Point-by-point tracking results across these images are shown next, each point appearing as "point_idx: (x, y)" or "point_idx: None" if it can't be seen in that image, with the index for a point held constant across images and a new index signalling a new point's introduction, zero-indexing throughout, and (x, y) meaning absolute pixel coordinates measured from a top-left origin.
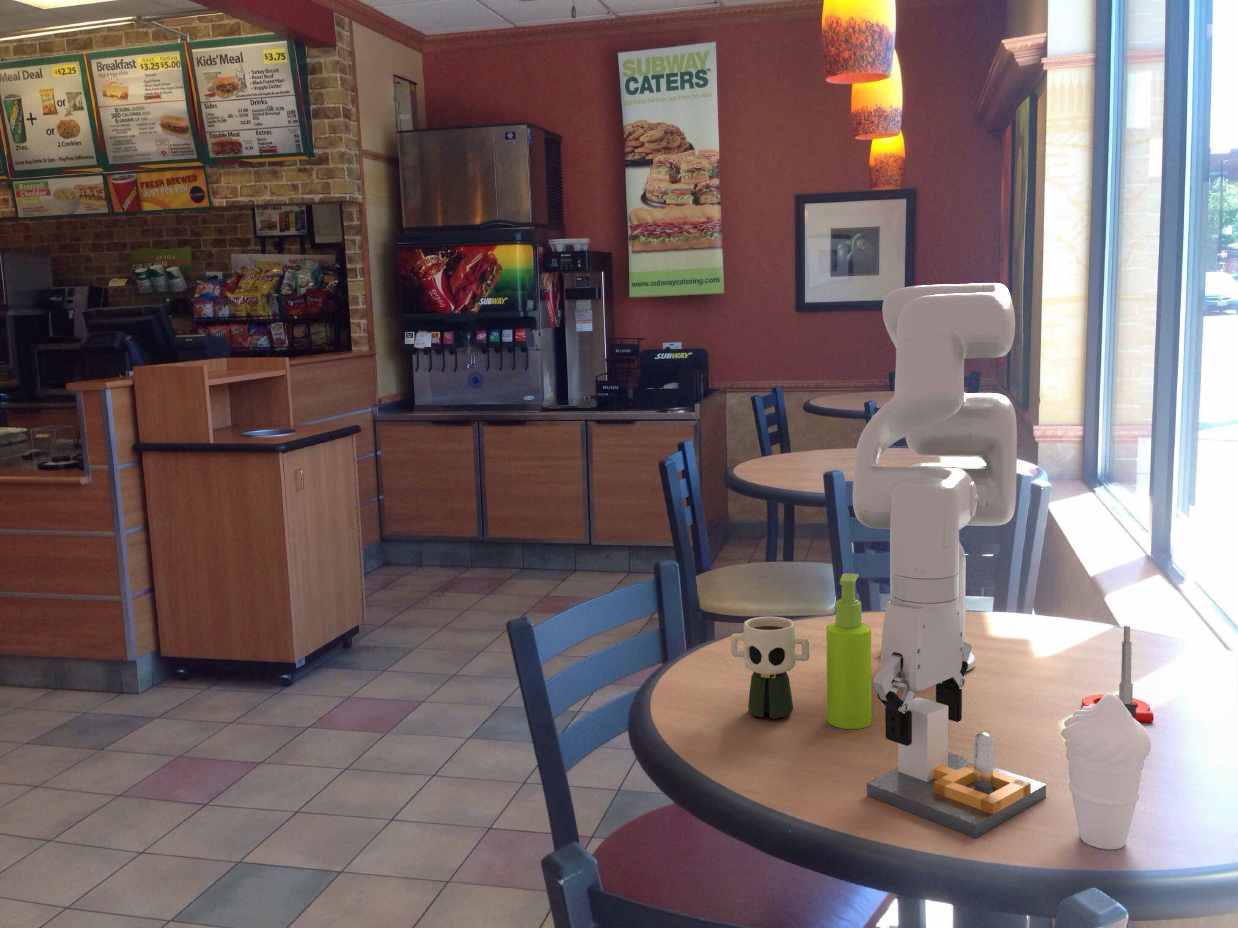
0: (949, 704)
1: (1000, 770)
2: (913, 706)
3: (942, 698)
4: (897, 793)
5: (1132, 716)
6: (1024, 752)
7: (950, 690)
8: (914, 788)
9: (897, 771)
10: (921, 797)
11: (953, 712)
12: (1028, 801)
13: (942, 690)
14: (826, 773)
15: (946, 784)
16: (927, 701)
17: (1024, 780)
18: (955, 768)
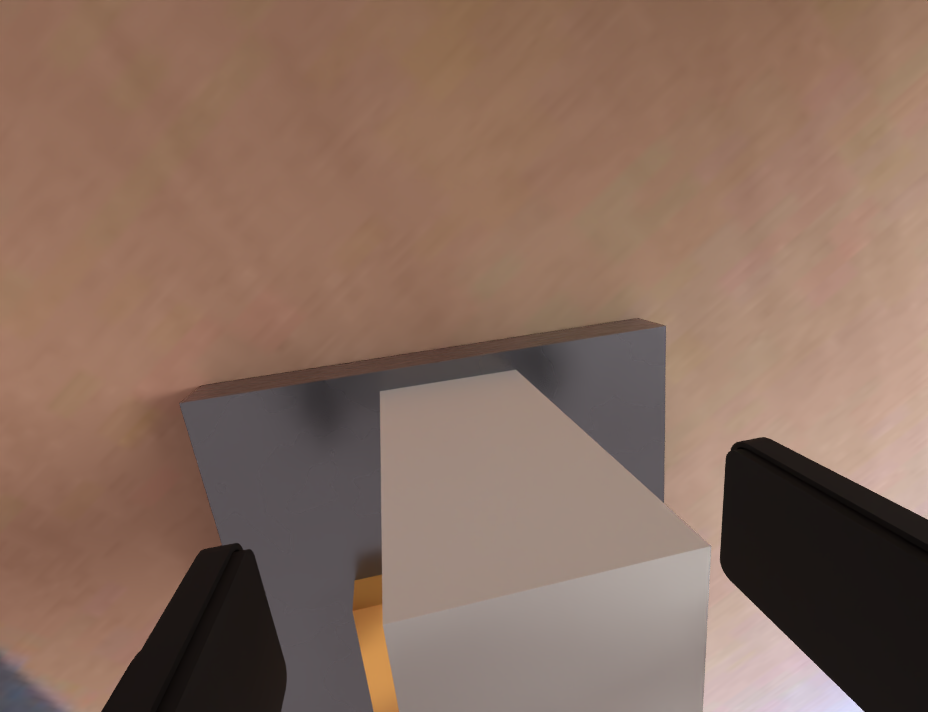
0: (801, 597)
1: None
2: (483, 698)
3: (838, 569)
4: (227, 533)
5: None
6: (851, 424)
7: (925, 706)
8: (317, 530)
9: (376, 390)
10: (283, 593)
11: (758, 586)
12: None
13: (915, 620)
14: (183, 119)
15: (375, 643)
16: (668, 656)
17: None
18: None
